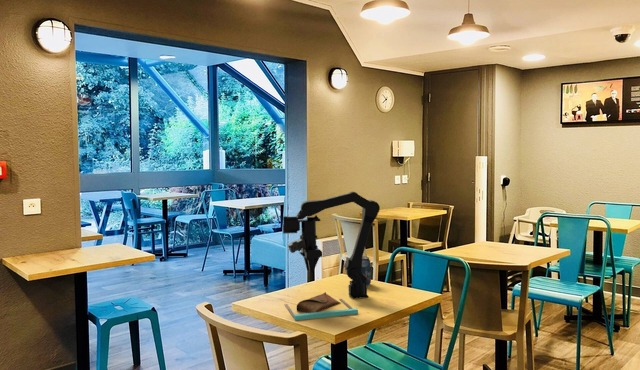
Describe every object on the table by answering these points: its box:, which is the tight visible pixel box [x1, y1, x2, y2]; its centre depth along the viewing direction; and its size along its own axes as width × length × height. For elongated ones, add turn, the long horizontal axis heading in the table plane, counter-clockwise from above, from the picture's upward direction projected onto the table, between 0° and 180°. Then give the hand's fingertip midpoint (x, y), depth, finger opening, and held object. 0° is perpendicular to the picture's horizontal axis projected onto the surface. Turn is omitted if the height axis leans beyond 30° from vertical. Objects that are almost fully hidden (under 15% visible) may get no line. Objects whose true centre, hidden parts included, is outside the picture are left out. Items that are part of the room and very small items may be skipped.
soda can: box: [361, 256, 372, 287], centre depth 234 cm, size 7×7×12 cm
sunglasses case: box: [296, 292, 341, 313], centre depth 202 cm, size 18×7×7 cm
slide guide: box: [284, 298, 359, 321], centre depth 199 cm, size 23×20×2 cm
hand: (309, 271), depth 213 cm, fingers open, 5 cm apart
